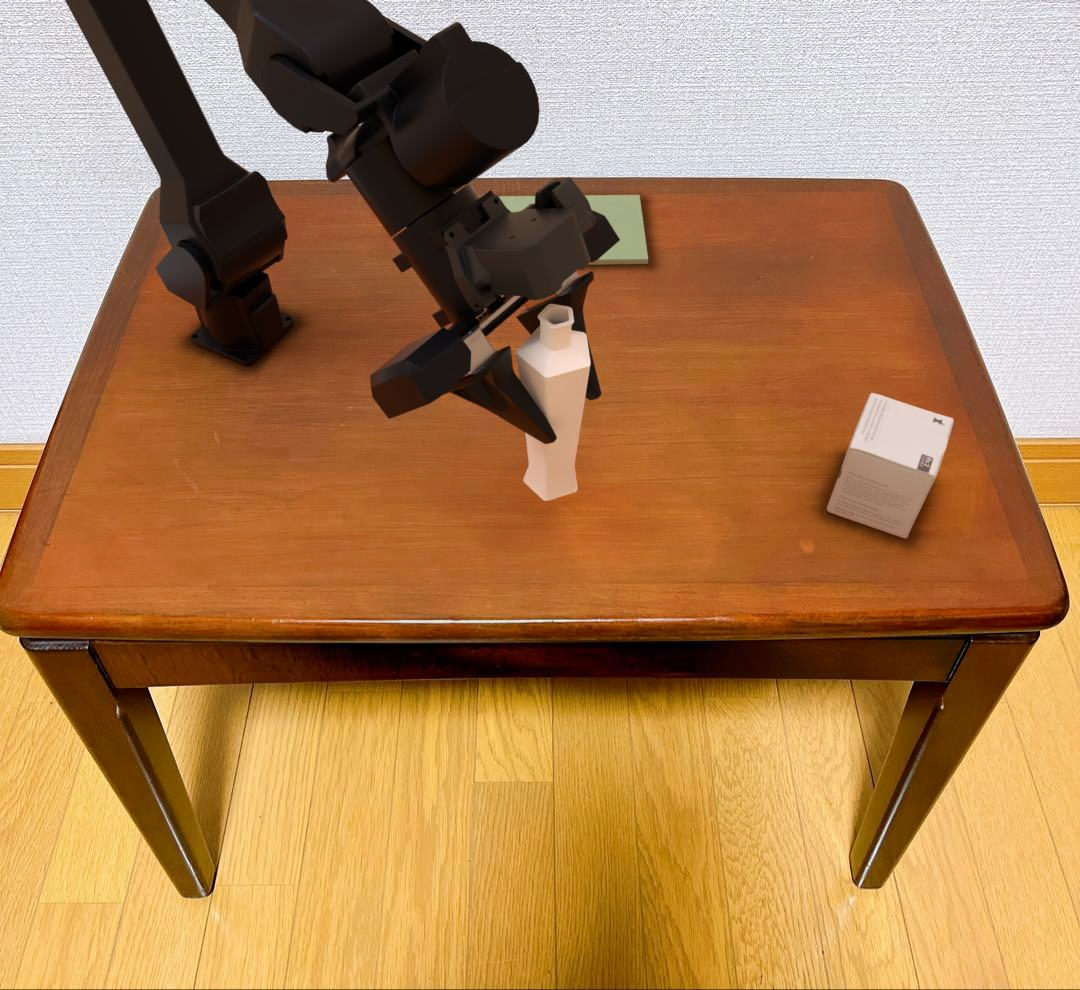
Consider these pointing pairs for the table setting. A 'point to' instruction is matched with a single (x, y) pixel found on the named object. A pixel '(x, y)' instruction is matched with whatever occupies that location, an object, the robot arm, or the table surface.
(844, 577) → the table surface
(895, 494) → the product carton
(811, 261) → the table surface
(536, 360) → the perfume bottle
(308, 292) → the table surface
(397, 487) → the table surface
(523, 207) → the mat
